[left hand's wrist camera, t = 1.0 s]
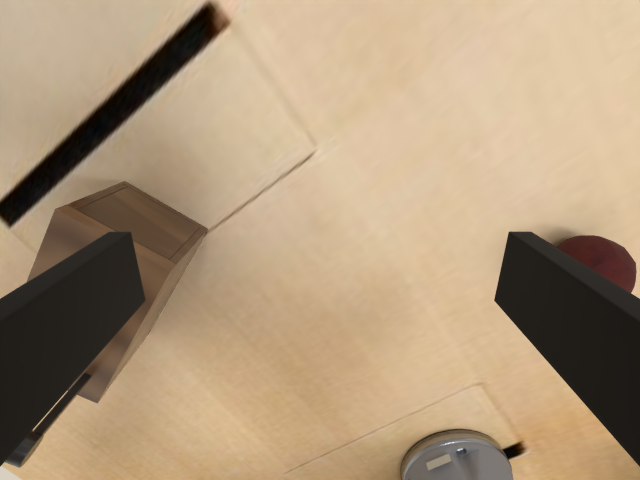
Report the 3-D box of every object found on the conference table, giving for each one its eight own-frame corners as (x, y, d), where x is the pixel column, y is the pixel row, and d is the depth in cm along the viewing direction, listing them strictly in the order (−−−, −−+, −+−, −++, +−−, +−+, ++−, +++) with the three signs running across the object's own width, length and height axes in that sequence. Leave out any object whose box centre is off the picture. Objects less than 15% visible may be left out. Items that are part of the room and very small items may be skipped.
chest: (147, 334, 43) (107, 389, 35) (71, 297, 41) (9, 346, 33) (208, 228, 38) (177, 263, 30) (124, 180, 36) (66, 204, 28)
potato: (548, 298, 41) (591, 336, 34) (523, 247, 39) (564, 277, 32) (610, 267, 39) (668, 300, 33) (589, 212, 37) (647, 235, 31)
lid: (105, 393, 35) (30, 494, 26) (7, 350, 33) (-110, 443, 24) (177, 264, 30) (114, 334, 21) (66, 204, 28) (-56, 253, 19)
